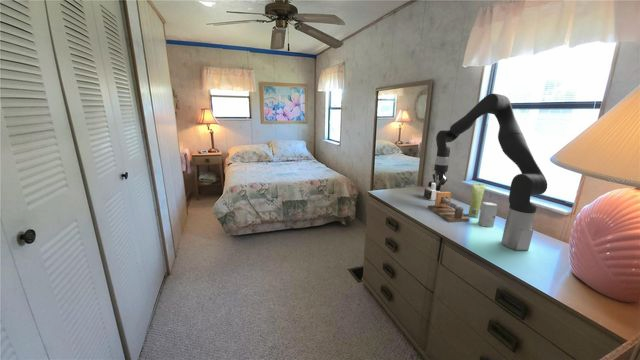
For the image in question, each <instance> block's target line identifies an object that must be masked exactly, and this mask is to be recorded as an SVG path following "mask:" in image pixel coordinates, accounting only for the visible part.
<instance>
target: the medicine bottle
mask: <svg viewBox="0 0 640 360" xmlns="http://www.w3.org/2000/svg"><path fill="white" fill-rule="evenodd" d="M437 192H441V190H440V191H436V183H434V181H428V184H427V187H425V188H424V192H423V198H424V199H426V200H428V201H435V200H436V193H437Z"/></svg>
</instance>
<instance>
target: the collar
mask: <svg viewBox="0 0 640 360" xmlns="http://www.w3.org/2000/svg"><path fill="white" fill-rule="evenodd" d="M441 197H444V198H446V199H448V200H450V201H451V199H452V192H450V191H440V192H437V193H436V200H434V201H435V202H434V205H435V206H437V207H440V206H448V205H446V204H445V203H443V202H441ZM448 207H449V206H448Z"/></svg>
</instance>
